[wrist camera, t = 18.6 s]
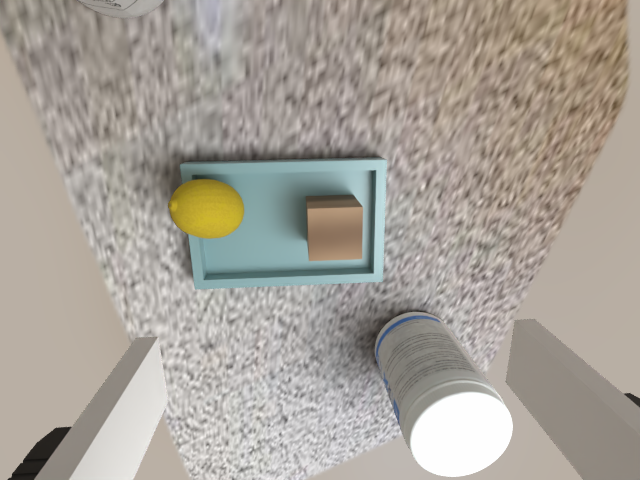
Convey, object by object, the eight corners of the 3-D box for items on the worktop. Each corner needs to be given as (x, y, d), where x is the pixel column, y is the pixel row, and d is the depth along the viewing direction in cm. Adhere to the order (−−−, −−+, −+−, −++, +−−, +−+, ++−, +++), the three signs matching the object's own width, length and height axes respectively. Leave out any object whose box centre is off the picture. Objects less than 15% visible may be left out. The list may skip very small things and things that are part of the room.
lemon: (227, 242, 41) (154, 240, 35) (225, 191, 42) (152, 179, 36) (262, 236, 38) (188, 232, 32) (259, 180, 38) (185, 165, 32)
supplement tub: (357, 352, 48) (383, 449, 34) (407, 293, 46) (456, 371, 32) (417, 389, 50) (464, 495, 36) (466, 334, 48) (537, 424, 34)
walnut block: (305, 196, 41) (307, 208, 35) (353, 194, 41) (363, 207, 35) (307, 241, 42) (308, 261, 37) (353, 240, 43) (362, 259, 37)
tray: (186, 161, 40) (179, 164, 37) (381, 157, 41) (386, 159, 39) (200, 279, 44) (194, 289, 41) (377, 273, 45) (382, 281, 42)
